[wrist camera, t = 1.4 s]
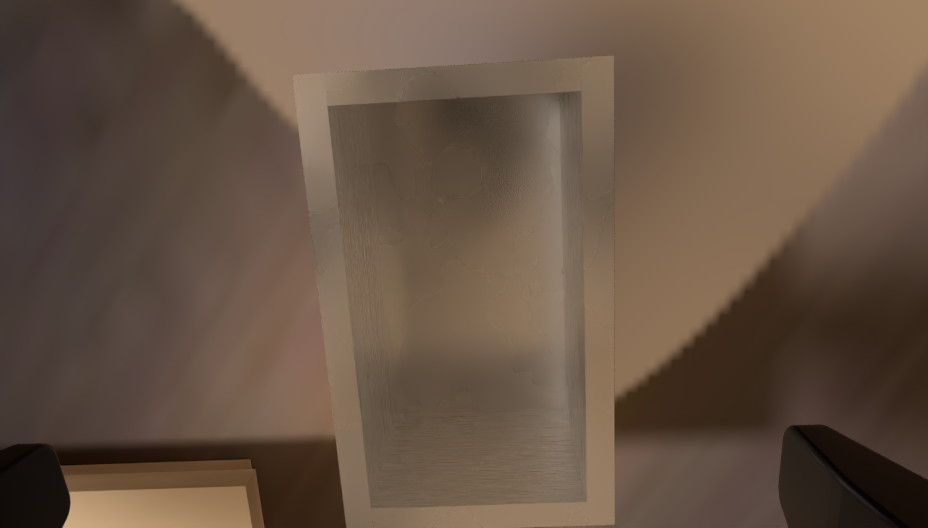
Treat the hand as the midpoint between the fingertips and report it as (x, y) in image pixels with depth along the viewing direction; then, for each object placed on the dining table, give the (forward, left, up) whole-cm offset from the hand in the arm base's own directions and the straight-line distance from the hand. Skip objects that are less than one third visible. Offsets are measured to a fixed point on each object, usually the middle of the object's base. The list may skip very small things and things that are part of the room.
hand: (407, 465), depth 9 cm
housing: (0, -1, -11) cm, 11 cm away
